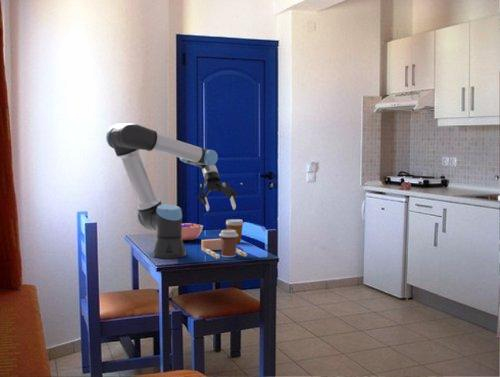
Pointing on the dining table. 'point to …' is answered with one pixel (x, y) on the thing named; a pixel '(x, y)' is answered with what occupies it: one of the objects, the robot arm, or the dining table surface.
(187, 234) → the cell model
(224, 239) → the coffee cup
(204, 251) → the track rails
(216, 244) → the end stop
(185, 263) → the dining table surface
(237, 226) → the disposable coffee cup
